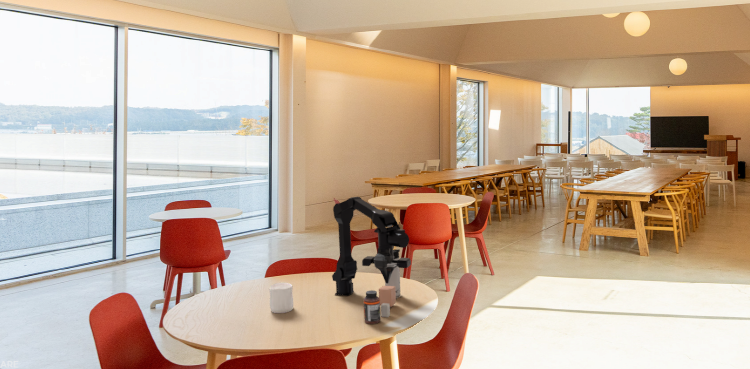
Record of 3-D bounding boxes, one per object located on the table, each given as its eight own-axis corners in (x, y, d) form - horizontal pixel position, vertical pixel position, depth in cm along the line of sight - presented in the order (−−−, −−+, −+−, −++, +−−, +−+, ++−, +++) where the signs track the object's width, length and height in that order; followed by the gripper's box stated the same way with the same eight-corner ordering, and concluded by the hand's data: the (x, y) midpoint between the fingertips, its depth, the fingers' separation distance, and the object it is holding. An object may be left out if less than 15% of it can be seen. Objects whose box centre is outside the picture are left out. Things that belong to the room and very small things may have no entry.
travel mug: (400, 299, 239) (398, 251, 237) (384, 298, 241) (382, 251, 238) (402, 294, 245) (400, 248, 243) (387, 294, 247) (385, 248, 245)
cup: (274, 315, 225) (272, 290, 224) (266, 308, 233) (265, 284, 232) (297, 310, 229) (296, 286, 228) (288, 304, 238) (287, 281, 237)
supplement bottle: (363, 319, 216) (362, 289, 215) (379, 318, 216) (378, 288, 215) (364, 324, 210) (363, 294, 209) (381, 323, 210) (380, 293, 209)
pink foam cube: (379, 305, 228) (378, 289, 228) (383, 301, 233) (383, 285, 233) (391, 306, 227) (391, 290, 226) (395, 302, 231) (395, 286, 231)
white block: (381, 316, 218) (380, 305, 218) (383, 314, 221) (383, 303, 220) (387, 317, 217) (387, 305, 217) (390, 315, 220) (389, 303, 219)
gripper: (355, 247, 223) (357, 287, 225) (402, 249, 217) (403, 290, 218) (366, 242, 234) (368, 279, 235) (410, 243, 227) (412, 282, 229)
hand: (387, 283), depth 229 cm, fingers closed
